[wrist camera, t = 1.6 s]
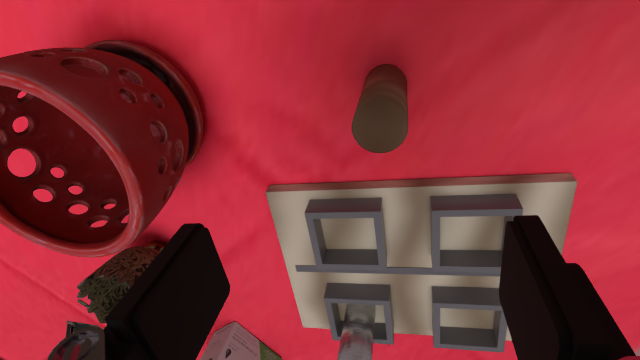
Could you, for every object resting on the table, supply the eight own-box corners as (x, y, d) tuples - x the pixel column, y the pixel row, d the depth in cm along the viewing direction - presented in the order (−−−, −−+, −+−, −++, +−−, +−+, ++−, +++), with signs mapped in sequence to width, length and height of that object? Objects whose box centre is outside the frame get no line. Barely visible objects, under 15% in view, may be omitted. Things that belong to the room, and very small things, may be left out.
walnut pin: (405, 61, 25) (406, 98, 18) (407, 103, 26) (409, 151, 20) (362, 67, 26) (348, 103, 19) (367, 107, 27) (355, 154, 21)
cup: (200, 277, 41) (161, 338, 35) (145, 272, 43) (97, 330, 36) (180, 225, 38) (132, 282, 31) (120, 223, 39) (62, 276, 33)
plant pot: (103, 164, 36) (-16, 244, 25) (61, 20, 29) (-125, 52, 18) (228, 185, 34) (153, 280, 24) (216, 38, 27) (104, 84, 17)
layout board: (570, 173, 27) (638, 258, 19) (538, 331, 35) (576, 434, 28) (269, 185, 33) (228, 253, 25) (305, 318, 41) (283, 399, 34)
